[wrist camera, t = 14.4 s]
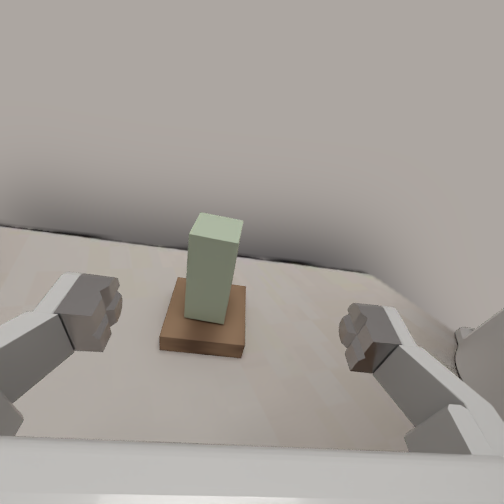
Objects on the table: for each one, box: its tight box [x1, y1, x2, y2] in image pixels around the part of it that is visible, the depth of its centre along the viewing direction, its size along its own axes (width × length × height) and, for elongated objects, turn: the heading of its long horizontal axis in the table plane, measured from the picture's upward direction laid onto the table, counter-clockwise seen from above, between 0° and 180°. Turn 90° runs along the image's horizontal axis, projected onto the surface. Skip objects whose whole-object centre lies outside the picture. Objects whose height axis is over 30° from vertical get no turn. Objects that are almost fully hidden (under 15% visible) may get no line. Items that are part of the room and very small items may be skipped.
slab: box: [159, 277, 246, 358], centre depth 33 cm, size 9×9×3 cm
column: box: [184, 212, 243, 324], centre depth 29 cm, size 4×4×11 cm
